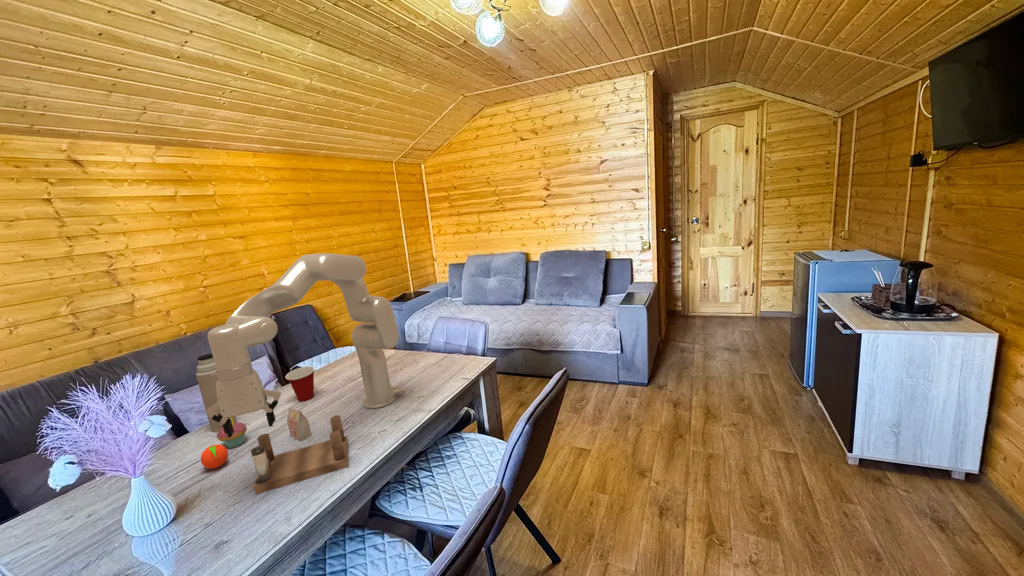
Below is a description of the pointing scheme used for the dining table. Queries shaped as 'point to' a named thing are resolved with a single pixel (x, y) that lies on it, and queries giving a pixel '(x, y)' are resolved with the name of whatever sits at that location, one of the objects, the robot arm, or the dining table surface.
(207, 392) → the thermos bottle
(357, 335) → the robot arm
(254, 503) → the dining table surface
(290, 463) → the stool seat
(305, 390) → the plastic cup
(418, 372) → the dining table surface
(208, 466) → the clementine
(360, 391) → the dining table surface
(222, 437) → the cupcake
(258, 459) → the stool leg
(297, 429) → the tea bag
